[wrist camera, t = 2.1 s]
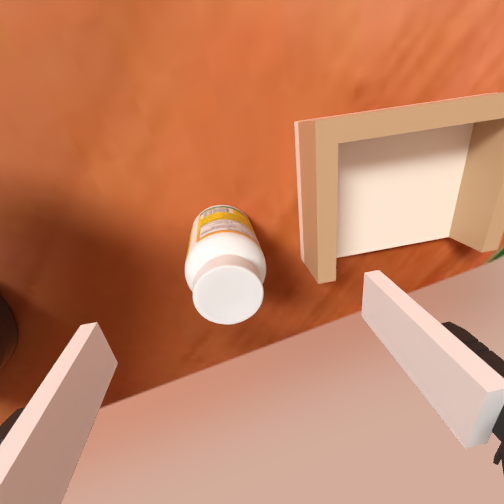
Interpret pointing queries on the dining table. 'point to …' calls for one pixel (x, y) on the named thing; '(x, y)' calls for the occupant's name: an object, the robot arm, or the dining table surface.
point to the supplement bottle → (225, 265)
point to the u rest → (400, 179)
